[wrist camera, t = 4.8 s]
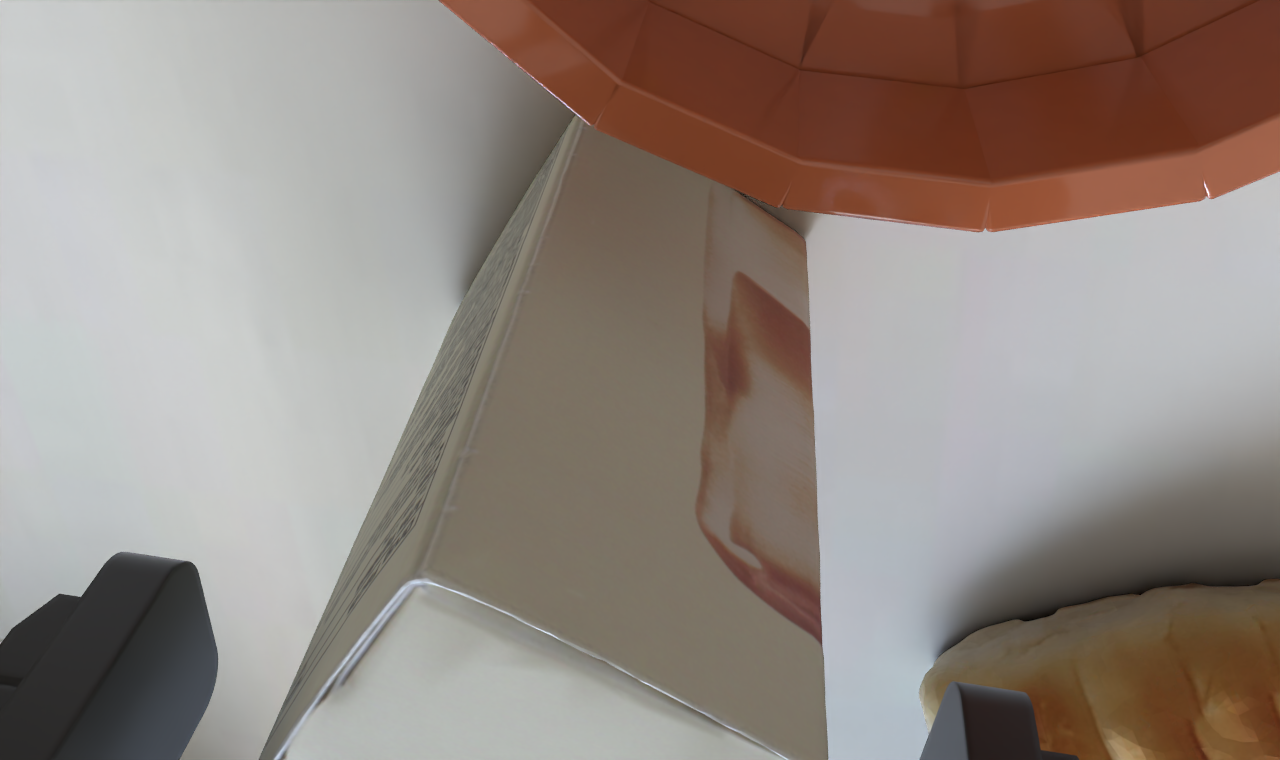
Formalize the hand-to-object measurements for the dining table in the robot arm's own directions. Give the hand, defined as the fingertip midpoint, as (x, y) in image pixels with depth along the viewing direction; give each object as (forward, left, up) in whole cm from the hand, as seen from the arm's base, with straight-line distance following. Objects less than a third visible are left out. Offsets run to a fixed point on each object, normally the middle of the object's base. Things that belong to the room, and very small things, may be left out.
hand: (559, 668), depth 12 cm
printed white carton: (0, 0, -8) cm, 8 cm away
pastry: (+11, -8, -8) cm, 16 cm away
